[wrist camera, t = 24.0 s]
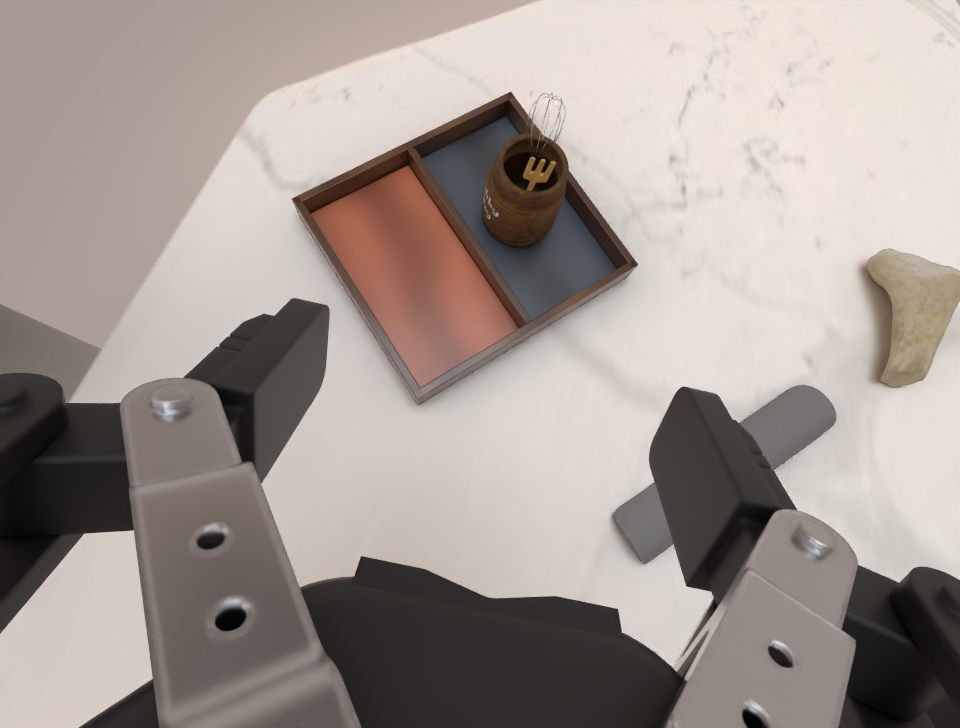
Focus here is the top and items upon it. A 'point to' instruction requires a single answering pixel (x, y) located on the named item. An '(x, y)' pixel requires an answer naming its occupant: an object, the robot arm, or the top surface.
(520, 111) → the sorting tray
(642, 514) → the half round rod
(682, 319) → the top surface
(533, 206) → the utensil holder
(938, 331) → the stone
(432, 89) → the top surface
